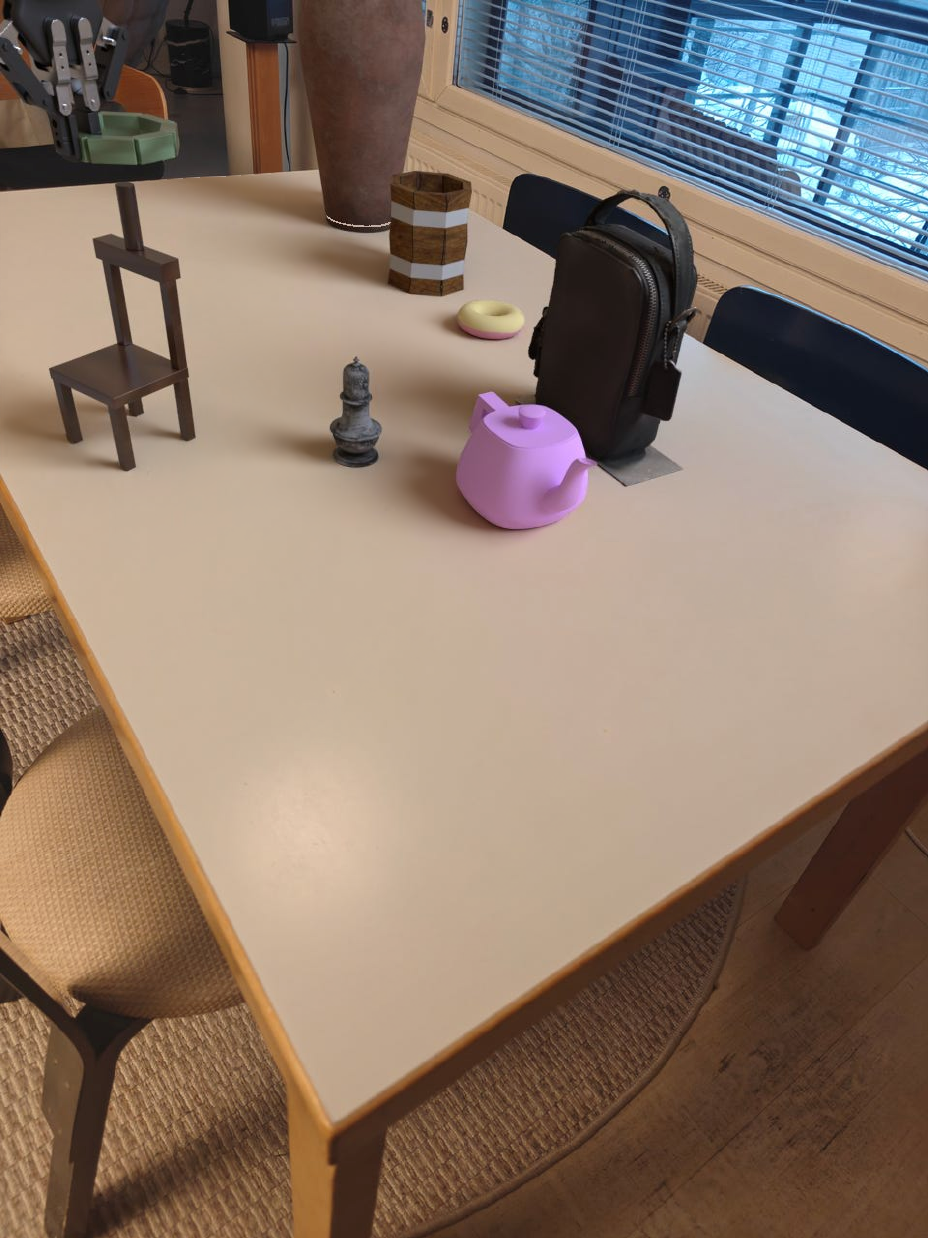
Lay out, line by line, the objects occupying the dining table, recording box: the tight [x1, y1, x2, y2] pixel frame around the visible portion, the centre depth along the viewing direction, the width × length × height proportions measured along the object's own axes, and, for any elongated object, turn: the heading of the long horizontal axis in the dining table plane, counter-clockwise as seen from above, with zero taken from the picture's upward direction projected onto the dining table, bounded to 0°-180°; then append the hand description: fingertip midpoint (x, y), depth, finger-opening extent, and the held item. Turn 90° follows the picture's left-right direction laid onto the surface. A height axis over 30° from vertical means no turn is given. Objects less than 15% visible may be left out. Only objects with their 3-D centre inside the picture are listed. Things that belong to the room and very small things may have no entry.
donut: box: [456, 299, 525, 340], centre depth 129 cm, size 10×5×9 cm
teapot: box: [455, 391, 598, 530], centre depth 91 cm, size 13×20×11 cm
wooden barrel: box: [387, 170, 473, 297], centre depth 140 cm, size 20×14×15 cm
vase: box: [296, 0, 427, 234], centre depth 150 cm, size 21×26×45 cm
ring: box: [55, 110, 181, 166], centre depth 80 cm, size 11×11×2 cm
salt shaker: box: [329, 355, 383, 468], centre depth 95 cm, size 6×6×12 cm
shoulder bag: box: [514, 188, 699, 487], centre depth 99 cm, size 23×9×28 cm, turn 33°
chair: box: [48, 181, 196, 472], centre depth 89 cm, size 11×10×26 cm
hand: (81, 157), depth 77 cm, fingers closed on ring, 1 cm apart
